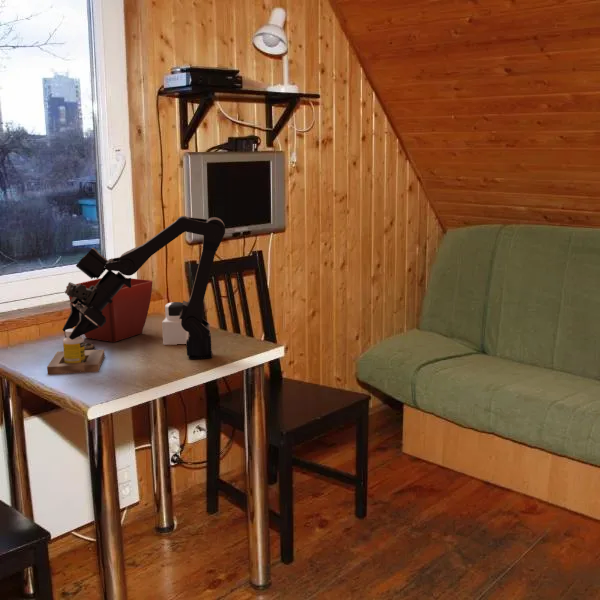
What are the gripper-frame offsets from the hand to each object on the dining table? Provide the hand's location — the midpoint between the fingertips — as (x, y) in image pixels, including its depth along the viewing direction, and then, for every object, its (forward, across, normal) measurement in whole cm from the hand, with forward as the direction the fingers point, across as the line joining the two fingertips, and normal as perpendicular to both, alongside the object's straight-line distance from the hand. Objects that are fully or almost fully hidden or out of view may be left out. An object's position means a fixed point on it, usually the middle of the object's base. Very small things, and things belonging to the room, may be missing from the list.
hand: (67, 334), depth 208 cm
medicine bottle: (-17, -10, +30) cm, 37 cm away
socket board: (+5, -1, +8) cm, 9 cm away
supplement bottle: (+5, 0, +7) cm, 9 cm away
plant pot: (-7, -28, +20) cm, 35 cm away
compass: (+2, -17, +11) cm, 20 cm away
